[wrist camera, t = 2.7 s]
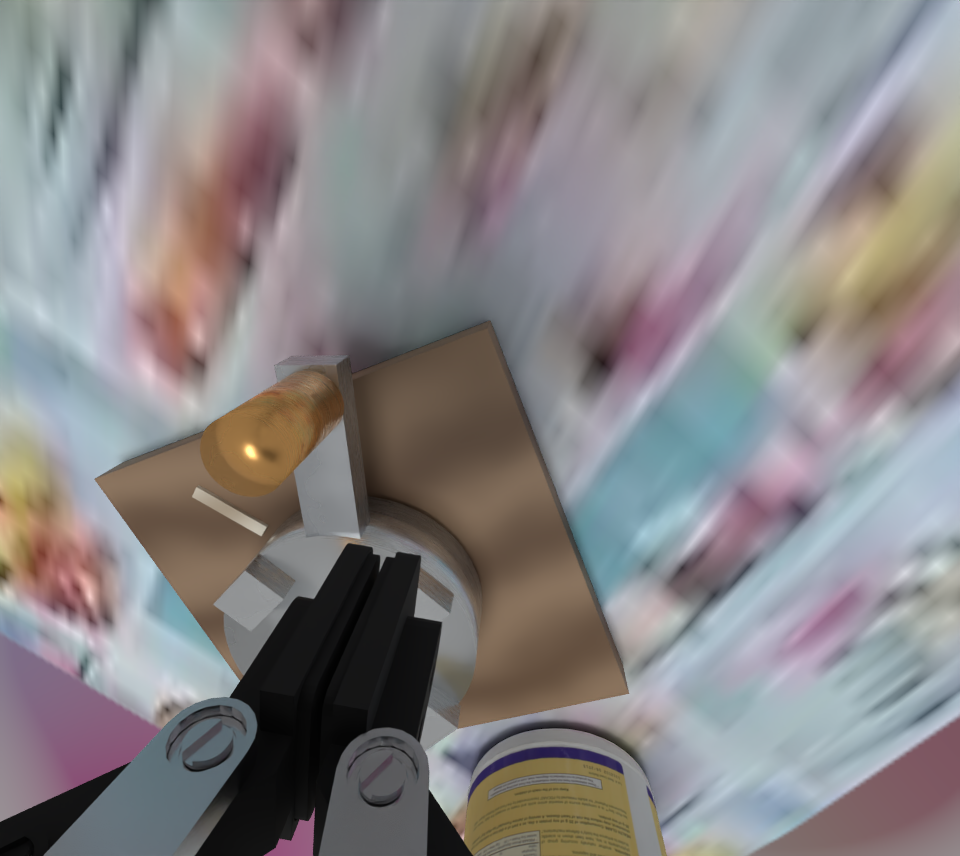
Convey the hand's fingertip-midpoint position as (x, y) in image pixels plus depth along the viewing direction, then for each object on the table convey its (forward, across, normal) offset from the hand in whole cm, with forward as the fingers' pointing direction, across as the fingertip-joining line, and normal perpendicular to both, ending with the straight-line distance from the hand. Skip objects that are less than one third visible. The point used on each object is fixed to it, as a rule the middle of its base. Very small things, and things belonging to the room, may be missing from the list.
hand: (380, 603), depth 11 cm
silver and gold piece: (+13, +4, +7) cm, 15 cm away
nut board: (+15, +3, +11) cm, 19 cm away
